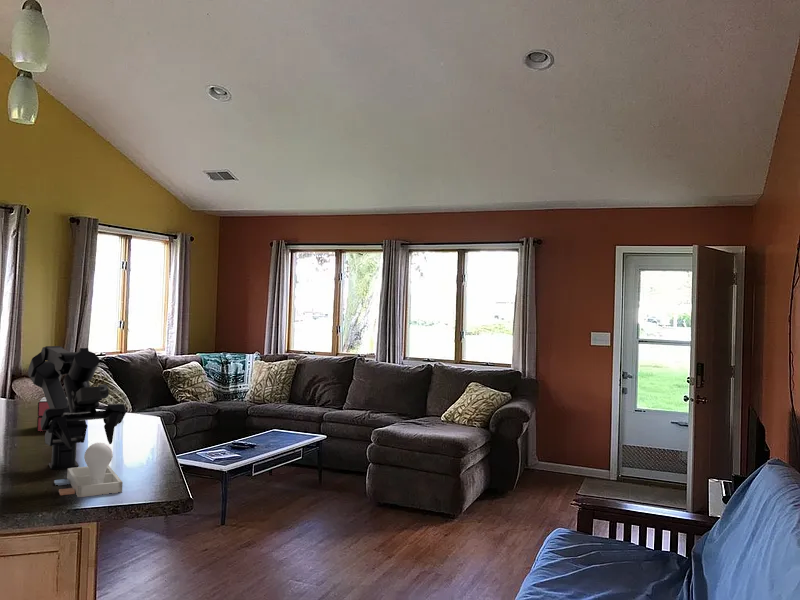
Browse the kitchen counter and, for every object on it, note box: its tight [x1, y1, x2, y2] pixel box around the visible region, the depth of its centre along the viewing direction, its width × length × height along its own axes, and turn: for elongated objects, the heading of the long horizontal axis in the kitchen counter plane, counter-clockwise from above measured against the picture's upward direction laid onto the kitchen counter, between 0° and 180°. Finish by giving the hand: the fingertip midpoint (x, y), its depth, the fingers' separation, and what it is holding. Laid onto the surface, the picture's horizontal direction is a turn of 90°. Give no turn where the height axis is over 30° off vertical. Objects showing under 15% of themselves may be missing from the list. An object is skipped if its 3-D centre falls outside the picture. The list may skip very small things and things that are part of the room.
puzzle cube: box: [36, 396, 68, 433], centre depth 223 cm, size 10×10×10 cm
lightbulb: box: [83, 442, 114, 485], centre depth 157 cm, size 6×6×11 cm
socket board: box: [53, 464, 123, 498], centre depth 159 cm, size 18×13×2 cm
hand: (91, 445), depth 160 cm, fingers open, 9 cm apart
